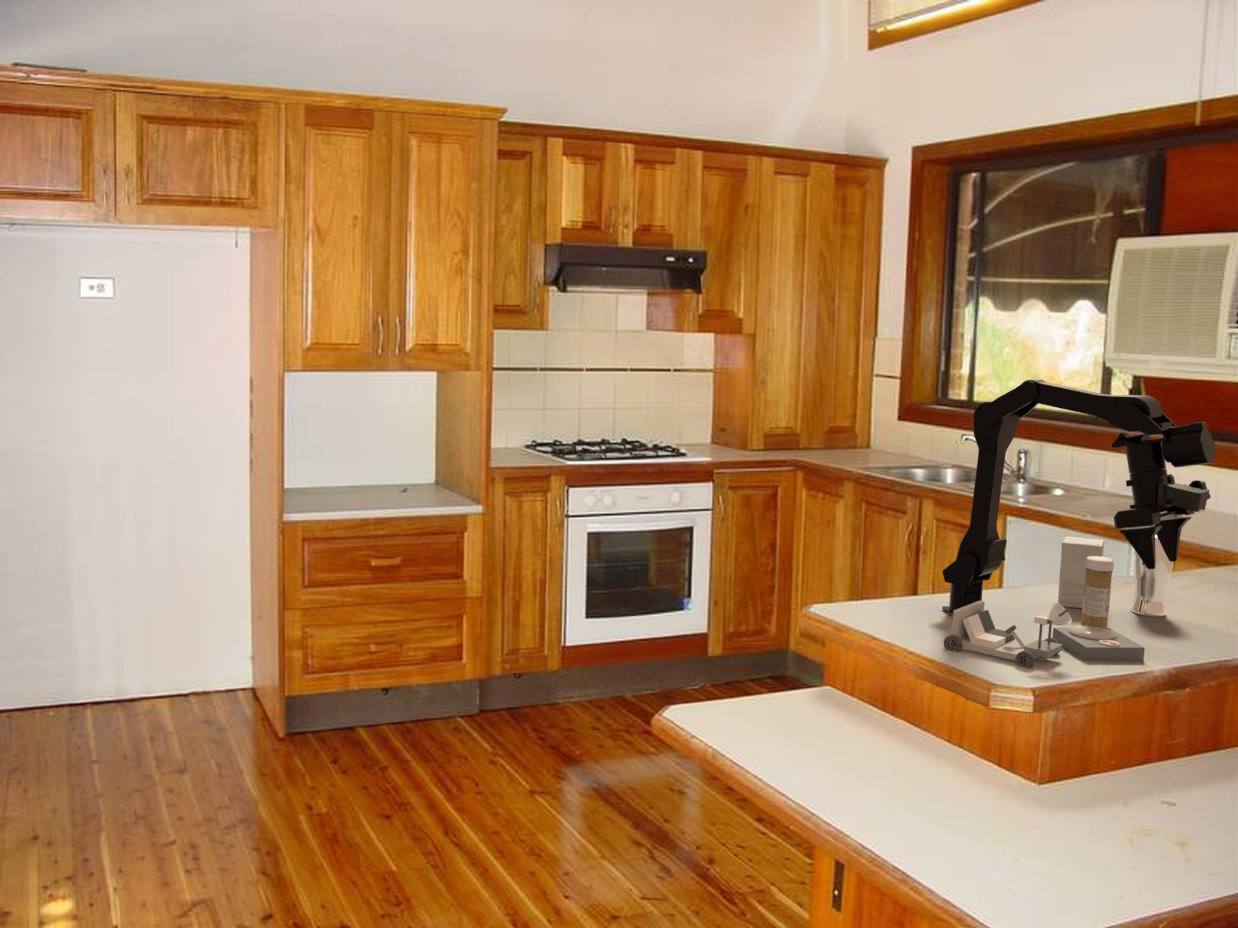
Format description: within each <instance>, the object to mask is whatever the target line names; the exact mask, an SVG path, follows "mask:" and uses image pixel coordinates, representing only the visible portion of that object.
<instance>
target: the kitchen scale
mask: <svg viewBox="0 0 1238 928" xmlns="http://www.w3.org/2000/svg"><path fill="white" fill-rule="evenodd" d="M1052 627H1053V629H1052V638H1054V639H1056V640H1057V641H1058V642H1059V643H1060V644H1062V647H1063V646H1064V647H1063V648H1065V649H1066V648H1067V649H1066V650H1068V649H1069V650H1070V651H1069V650H1068V651H1069V652H1071V651H1072V652H1071V653H1073V654H1074V653H1075V655H1076V656H1077V655H1078V656H1077V657H1078V658H1081V659H1082V660H1083V661H1108V662H1109V661H1115V662H1116V661H1121V662H1122V661H1125V662H1126V661H1129V662H1130V661H1132V662H1133V661H1134V662H1135V661H1137V662H1138V661H1139V662H1141V661H1144V658H1145V649H1146V647H1144V646H1143V645H1141V644H1139V643H1137V642H1135V641H1133V640H1132V639H1130V638H1128V637H1126V636H1124V635H1123V634H1121V633H1119V632H1117V631H1115V630H1114V629H1111V628H1109V627H1107V628H1099V627H1093V626H1081V625H1074V626H1070V627H1055V626H1052Z"/></svg>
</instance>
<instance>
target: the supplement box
mask: <svg viewBox="0 0 1238 928" xmlns="http://www.w3.org/2000/svg"><path fill="white" fill-rule="evenodd" d="M1104 543H1105V541H1104V539H1097V538H1086V537H1078V536H1077V537H1076V536H1065V537H1064V539H1063V540H1062V541H1061V550H1060V551H1061V552H1060V568H1059V569H1060V570H1059V579H1058V581H1059V582H1058V595H1057V596H1058V599H1057V603H1058V604H1060V605H1061V606H1063V607H1065V608H1066V607H1067V608H1076V609H1082V608H1083V597H1084V590H1085V579H1086V559H1087V557H1089V556H1101V557H1104V546H1105V545H1104Z"/></svg>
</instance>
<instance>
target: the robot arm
mask: <svg viewBox="0 0 1238 928" xmlns="http://www.w3.org/2000/svg"><path fill="white" fill-rule="evenodd" d="M1038 405H1043V406H1047V407H1051V408H1052V407H1053V408H1058V409H1061V410H1067V411H1070V412H1076V413H1079V414H1084V415H1089V416H1092V417H1096V418H1099V419H1100V420H1102V421H1104V422H1106V423H1107V424H1109V425H1111V426H1113V427H1116V428H1119V429H1121V430H1123V431H1125V432H1120V433H1119V434H1118V436H1117V438H1116V439H1115V440H1114V441H1113V442H1112V444H1110V445H1111V448H1113V449H1116V448H1117V449H1118V448H1124V447H1125V449H1124V450H1125V454H1126V462H1127V468H1128V474H1129V479H1126V480H1125V483H1126V484H1125V485H1126V487H1127V488H1128V487H1131V493H1132V498H1133V504H1129V508H1126V509H1122V510H1118V511H1117V512H1116V514H1115V515H1114V516H1113V522H1114V529H1116V530H1117V529H1118V530H1119V533H1120V534H1122V535H1123V536H1124V538H1126V540H1127V541H1128V542H1129V544H1130V546H1131V547H1132V549H1135V551H1136V552H1137V554H1138V555H1139V557H1140V558H1141V560H1142V561H1143V562H1144V564H1145V565H1146V567H1147V568H1148V569H1155V563H1156V556H1155V535H1157V537H1158V539H1159V541H1160V543H1161V545H1162V548H1163V550H1164V552H1165V554H1166V556H1167V557H1168V559H1169V561H1170V562H1173V563H1174V562H1177V560H1178V555H1179V549H1180V541H1181V534H1182V529H1183V528H1184V526H1185V525H1186V524H1187V523H1188V522H1189V521H1190V520H1191V519H1192V516H1190V515H1195V513H1196V512H1198V513H1199V512H1200V511H1201V510H1202V511H1205V510H1206V508H1207V507H1206V506H1207V502H1208V500H1210V499H1211V494H1210V489H1208V487H1207V484H1206V481H1205V480H1204V481H1203V480H1199V479H1195V480H1192V481H1190V483H1189V484H1181V483H1176V481H1175V480H1176V479H1175V476H1174V475H1173V474H1172V473H1171V474H1169V473H1168V470H1167V465H1166V464H1167V463H1169V464H1171V466H1172V467H1173V468H1184V467H1185V468H1186V467H1192V466H1200V465H1207V464H1208V465H1209V464H1213V463H1214V461H1215V460H1216V459H1215V458H1216V454H1217V453H1216V451H1217V450H1216V443H1215V440H1214V439H1213V437H1212V434H1211V432H1210V431H1209V430H1208V428H1207V422H1205V421H1199V422H1194V423H1193V422H1192V423H1190V424H1187V425H1181V426H1178V425H1176V423H1175V422H1173V420H1172V419H1170V418H1169V417H1168V416H1167V415H1166V414H1165V413H1164V412H1163V409H1162V406H1161V404H1160V402H1159V400H1158V399H1156V398H1155V397H1153V396H1150V395H1139V394H1138V395H1137V394H1106V393H1101V392H1096V391H1091V390H1087V389H1086V390H1085V389H1081V388H1075V387H1071V386H1066V385H1061V384H1057V383H1052V382H1048V381H1045V380H1044V379H1042V378H1041V379H1036V378H1035V379H1027V380H1024V381H1023V382H1022V383H1020V384H1019V385H1018V386H1016V387H1015V388H1013V389H1011V390H1009V391H1007V392H1006V393H1004V394H1002V395H1000V396H999V397H997V398H994V400H992V401H985V402H982V403H981V404H979V405H978V406H977V407H976V408H975V409H974V411H973V413H972V414H973V416H972V424H973V427H972V428H973V435H974V436H973V437H974V439H975V442H976V445H977V448H978V453H977V461H976V469H975V476H974V477H975V478H974V486H973V487H974V488H973V495H972V503H971V511H970V517H969V518H970V519H969V525H968V529H967V530H966V532H965V534H964V536H963V537H962V539H961V541H960V543H959V547H958V550H957V554H956V558H955V560H953V562H952V563H950V564H949V565H948V566H947V567H945V568H944V569H943V570H942V576H943V581H944V582H945V583H948V584H950V592H949V604H948V606H947V605H946V606H942V607H941V610H943V611H945V612H946V613H947V614H948V615H950V616H951V617H953V611H954V610H957V609H959V608H962V607H964V606H967V605H969V604H972V603H974V602H977V601H983V589H984V581H989V580H990V579H991V577H992V575H993V573H994V572H996V571H997V570H999V568H1000V567H1001V564H1002V562H1003V561H1006V557H1005V550H1006V547H1007V539H1006V538H1000V536H999V533H998V530H997V527H998V526H997V524H998V518H999V510H1000V501H1001V494H1002V493H1001V492H1002V485H1003V484H1002V483H1003V477H1004V469H1005V462H1006V461H1005V460H1006V453H1007V450H1008V449H1009V446H1010V445H1011V443H1012V442H1013V440H1014V437H1015V436H1016V432H1017V430H1018V426H1019V422H1020V419H1021V418H1022V419H1023V417H1024V416H1026V415H1028V414H1029V413H1031V411H1033V409H1034V408H1036V406H1038ZM1127 432H1129V433H1130V432H1133V433H1134V432H1141V433H1140V434H1134V435H1133V434H1132V435H1130V434H1128V433H1127ZM1160 434H1161V435H1162V437H1161V438H1154V439H1152V437H1151V436H1153V435H1160ZM1183 515H1184V516H1183Z"/></svg>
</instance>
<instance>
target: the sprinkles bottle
mask: <svg viewBox="0 0 1238 928" xmlns="http://www.w3.org/2000/svg"><path fill="white" fill-rule="evenodd" d="M1114 562H1115V561H1114V559H1113V558H1110V557H1106V556H1103V557H1101V556H1089V557H1087V559H1086V579H1085V590H1084V597H1083V608H1081V612H1082V614H1081V615H1082V616H1081V624H1080V626H1093V627H1099V628H1108V620H1109V612H1110V604H1111V603H1110V602H1111V594H1112V593H1111V590H1112V576H1113V571H1114V566H1115V563H1114Z"/></svg>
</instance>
